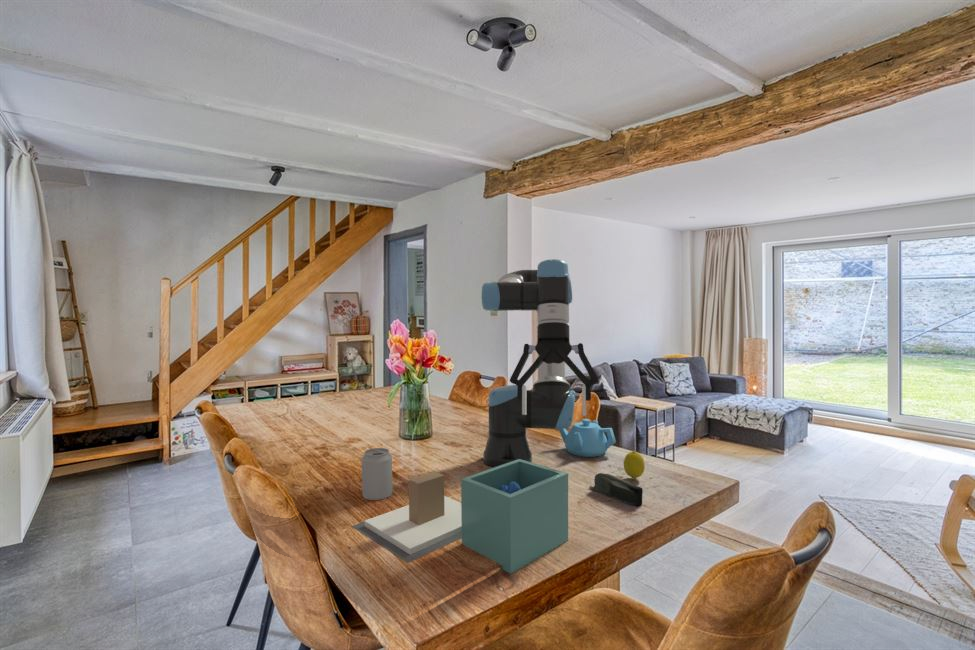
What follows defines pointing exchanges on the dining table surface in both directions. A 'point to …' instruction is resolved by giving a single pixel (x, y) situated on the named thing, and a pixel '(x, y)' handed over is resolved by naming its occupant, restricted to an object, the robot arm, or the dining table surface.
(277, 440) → the dining table surface
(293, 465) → the dining table surface
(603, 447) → the teapot
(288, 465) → the dining table surface
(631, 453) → the lemon
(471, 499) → the teal storage bin
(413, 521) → the lid
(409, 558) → the mat
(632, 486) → the mobile phone
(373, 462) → the can
